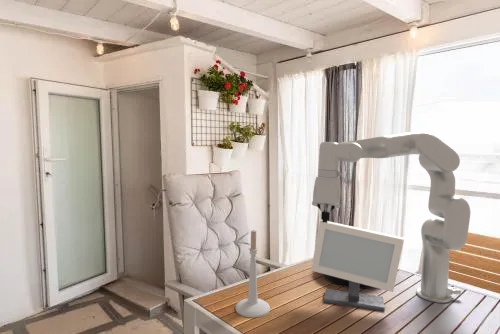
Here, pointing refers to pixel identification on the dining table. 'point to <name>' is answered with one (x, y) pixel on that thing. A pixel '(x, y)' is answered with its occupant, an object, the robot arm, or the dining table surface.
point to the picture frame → (357, 255)
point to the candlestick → (252, 289)
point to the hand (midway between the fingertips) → (325, 221)
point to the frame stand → (354, 298)
